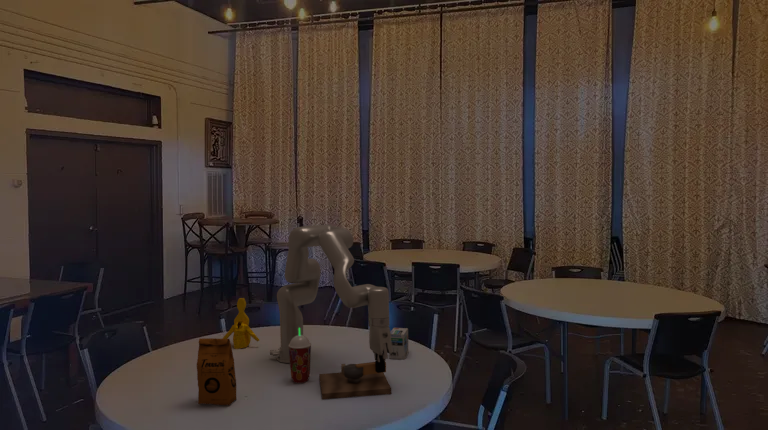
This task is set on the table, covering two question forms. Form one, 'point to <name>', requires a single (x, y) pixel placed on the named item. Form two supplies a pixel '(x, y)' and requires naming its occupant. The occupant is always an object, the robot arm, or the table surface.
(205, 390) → the coffee package
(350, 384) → the wooden board with lever
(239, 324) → the figure statuette
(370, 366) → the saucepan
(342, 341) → the table surface
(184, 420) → the table surface
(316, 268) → the robot arm
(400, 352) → the light bulb box
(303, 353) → the smoothie
